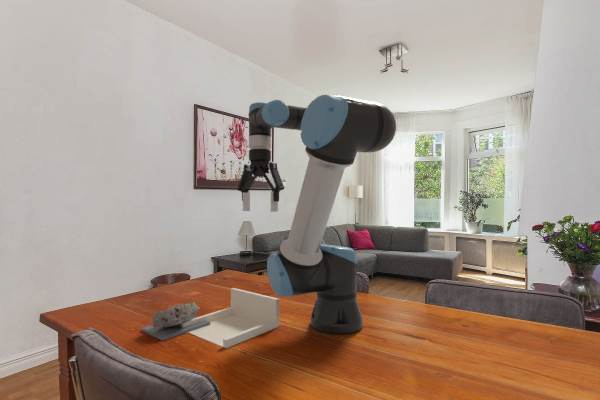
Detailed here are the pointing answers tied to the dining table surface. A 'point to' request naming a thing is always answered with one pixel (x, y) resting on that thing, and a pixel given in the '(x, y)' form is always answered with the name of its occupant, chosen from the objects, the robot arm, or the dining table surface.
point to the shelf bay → (239, 319)
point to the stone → (174, 315)
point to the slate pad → (173, 330)
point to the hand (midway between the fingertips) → (259, 211)
